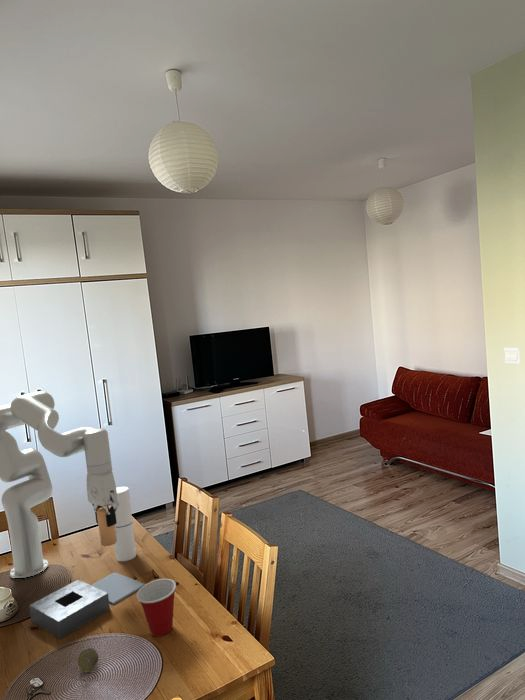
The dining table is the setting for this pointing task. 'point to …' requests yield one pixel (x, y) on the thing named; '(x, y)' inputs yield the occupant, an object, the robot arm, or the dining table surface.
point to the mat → (117, 586)
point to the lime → (88, 660)
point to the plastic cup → (158, 605)
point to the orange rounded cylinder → (105, 529)
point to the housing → (69, 608)
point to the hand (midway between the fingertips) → (106, 523)
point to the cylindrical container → (124, 527)
